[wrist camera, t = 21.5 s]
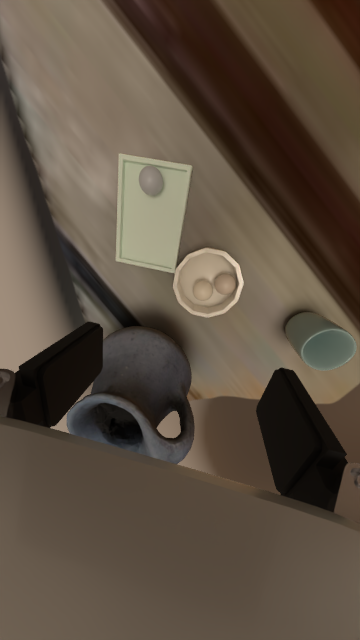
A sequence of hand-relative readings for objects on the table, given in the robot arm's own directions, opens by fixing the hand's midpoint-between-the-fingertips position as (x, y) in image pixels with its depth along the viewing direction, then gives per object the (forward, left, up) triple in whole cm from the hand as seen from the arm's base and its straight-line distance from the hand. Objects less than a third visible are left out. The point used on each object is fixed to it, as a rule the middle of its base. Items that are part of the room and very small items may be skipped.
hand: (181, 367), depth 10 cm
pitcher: (+20, -7, -31) cm, 37 cm away
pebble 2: (+2, +1, -29) cm, 29 cm away
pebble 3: (+2, +3, -28) cm, 28 cm away
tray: (-8, -12, -30) cm, 34 cm away
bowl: (+1, +1, -30) cm, 30 cm away
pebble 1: (-14, -12, -30) cm, 35 cm away
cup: (+6, +22, -31) cm, 38 cm away
